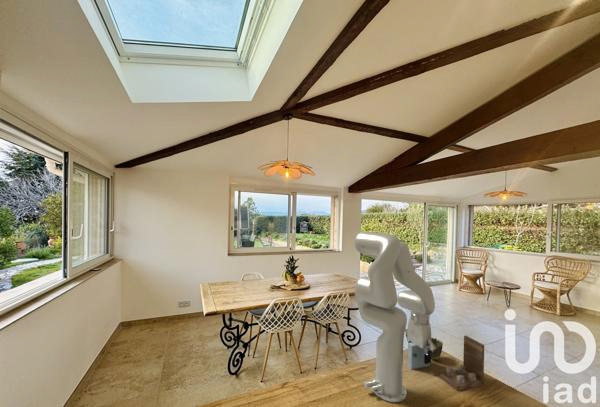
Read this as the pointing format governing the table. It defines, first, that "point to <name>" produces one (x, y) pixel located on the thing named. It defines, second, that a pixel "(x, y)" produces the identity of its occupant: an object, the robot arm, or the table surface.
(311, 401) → the table surface
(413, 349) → the door
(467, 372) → the cabinet base
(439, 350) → the cup
